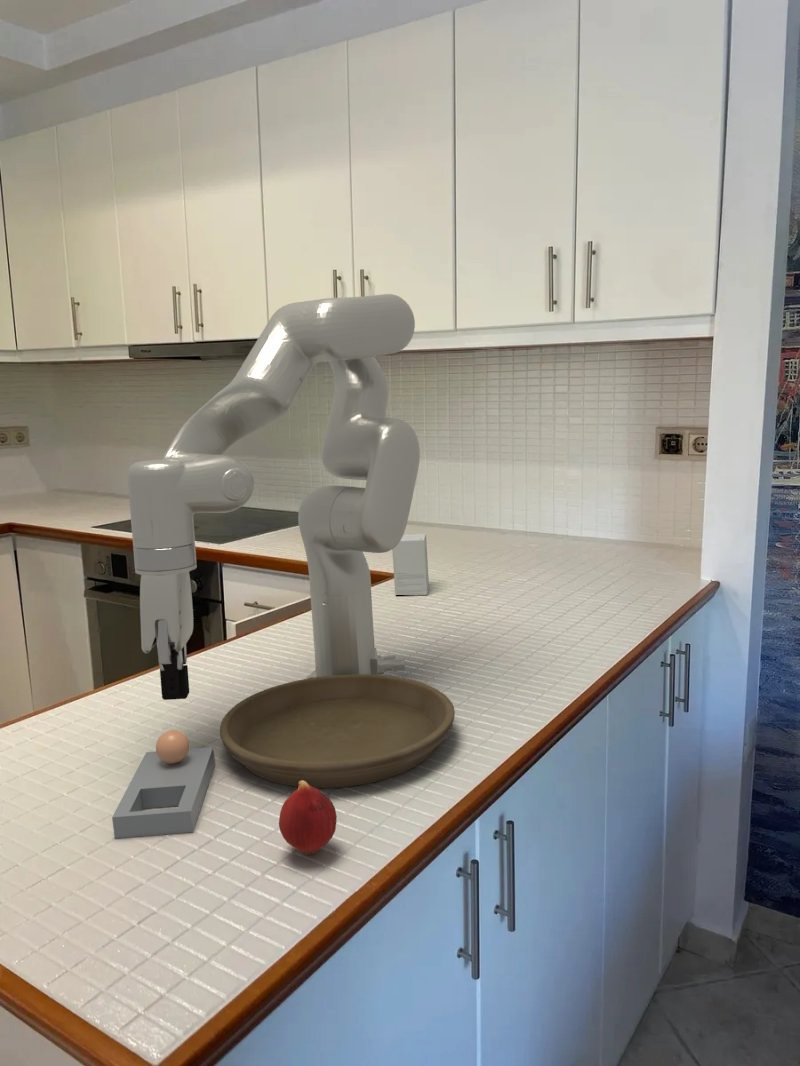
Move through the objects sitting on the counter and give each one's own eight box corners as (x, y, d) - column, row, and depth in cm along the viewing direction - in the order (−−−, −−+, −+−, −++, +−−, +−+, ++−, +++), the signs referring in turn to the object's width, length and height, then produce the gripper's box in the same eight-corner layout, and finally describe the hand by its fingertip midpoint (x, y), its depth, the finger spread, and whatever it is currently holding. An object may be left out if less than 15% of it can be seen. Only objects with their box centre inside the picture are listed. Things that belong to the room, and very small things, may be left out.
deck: (215, 765, 106) (213, 747, 106) (193, 832, 91) (190, 811, 90) (148, 770, 106) (146, 752, 106) (114, 838, 90) (112, 817, 90)
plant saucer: (336, 684, 133) (334, 657, 132) (500, 728, 114) (499, 697, 113) (174, 758, 110) (170, 725, 109) (345, 829, 90) (343, 790, 89)
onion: (339, 836, 89) (334, 766, 87) (337, 867, 83) (332, 793, 81) (285, 839, 88) (279, 769, 87) (279, 871, 83) (272, 797, 81)
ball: (193, 753, 104) (190, 723, 104) (187, 768, 101) (184, 737, 100) (161, 756, 104) (158, 726, 103) (154, 770, 100) (150, 739, 100)
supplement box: (429, 587, 190) (427, 533, 188) (427, 595, 183) (425, 539, 180) (397, 588, 191) (394, 534, 189) (394, 596, 184) (391, 540, 181)
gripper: (148, 549, 112) (159, 679, 115) (119, 571, 97) (132, 720, 100) (205, 546, 113) (214, 676, 116) (184, 569, 98) (195, 717, 101)
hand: (175, 696), depth 108 cm, fingers closed
